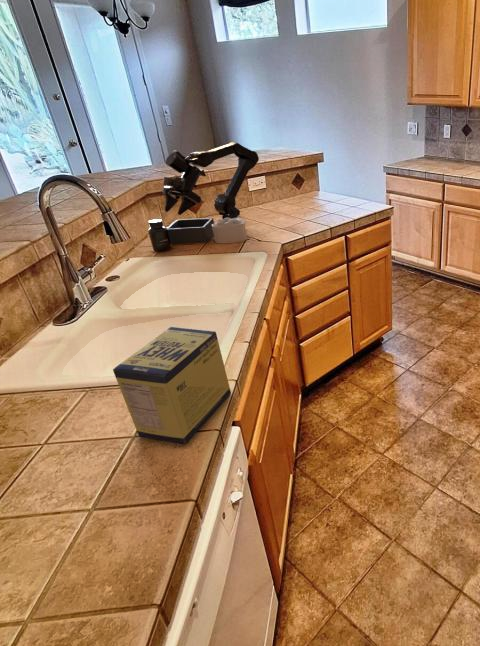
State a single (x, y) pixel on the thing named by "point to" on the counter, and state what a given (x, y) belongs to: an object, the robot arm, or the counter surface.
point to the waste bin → (191, 231)
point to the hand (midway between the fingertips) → (172, 212)
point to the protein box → (174, 384)
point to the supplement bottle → (159, 236)
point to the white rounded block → (229, 230)
